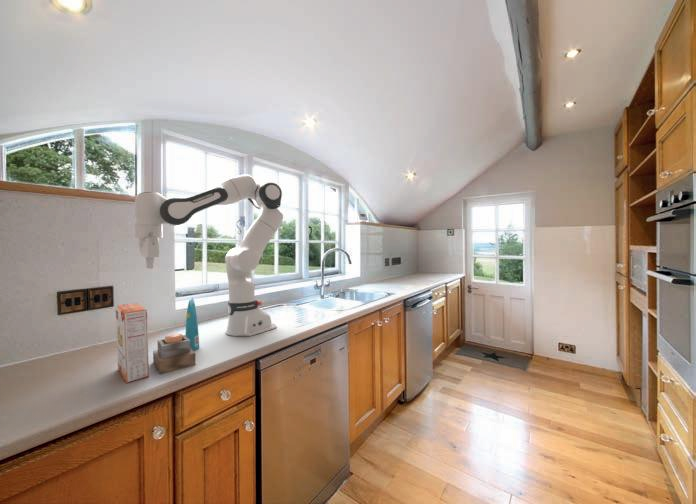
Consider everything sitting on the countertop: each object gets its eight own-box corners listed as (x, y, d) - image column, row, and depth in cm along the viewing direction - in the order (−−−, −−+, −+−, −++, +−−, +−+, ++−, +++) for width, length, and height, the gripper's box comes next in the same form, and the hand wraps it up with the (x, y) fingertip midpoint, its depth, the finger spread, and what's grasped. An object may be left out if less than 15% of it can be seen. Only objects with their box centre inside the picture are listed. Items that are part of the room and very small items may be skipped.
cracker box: (116, 369, 89) (114, 305, 88) (139, 363, 93) (138, 302, 93) (124, 384, 79) (122, 312, 79) (149, 377, 84) (148, 308, 83)
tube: (186, 346, 109) (185, 298, 109) (200, 344, 111) (199, 297, 111) (183, 353, 102) (183, 301, 102) (198, 351, 104) (197, 300, 104)
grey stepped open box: (186, 354, 101) (186, 332, 101) (195, 364, 92) (195, 340, 92) (153, 362, 94) (152, 339, 94) (159, 374, 85) (159, 348, 85)
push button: (180, 346, 97) (180, 332, 96) (184, 350, 93) (183, 336, 93) (163, 350, 93) (163, 336, 93) (166, 354, 90) (166, 339, 89)
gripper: (163, 232, 103) (164, 269, 103) (154, 234, 118) (155, 266, 118) (142, 231, 99) (143, 270, 99) (136, 234, 114) (136, 267, 114)
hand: (149, 268), depth 109 cm, fingers closed
